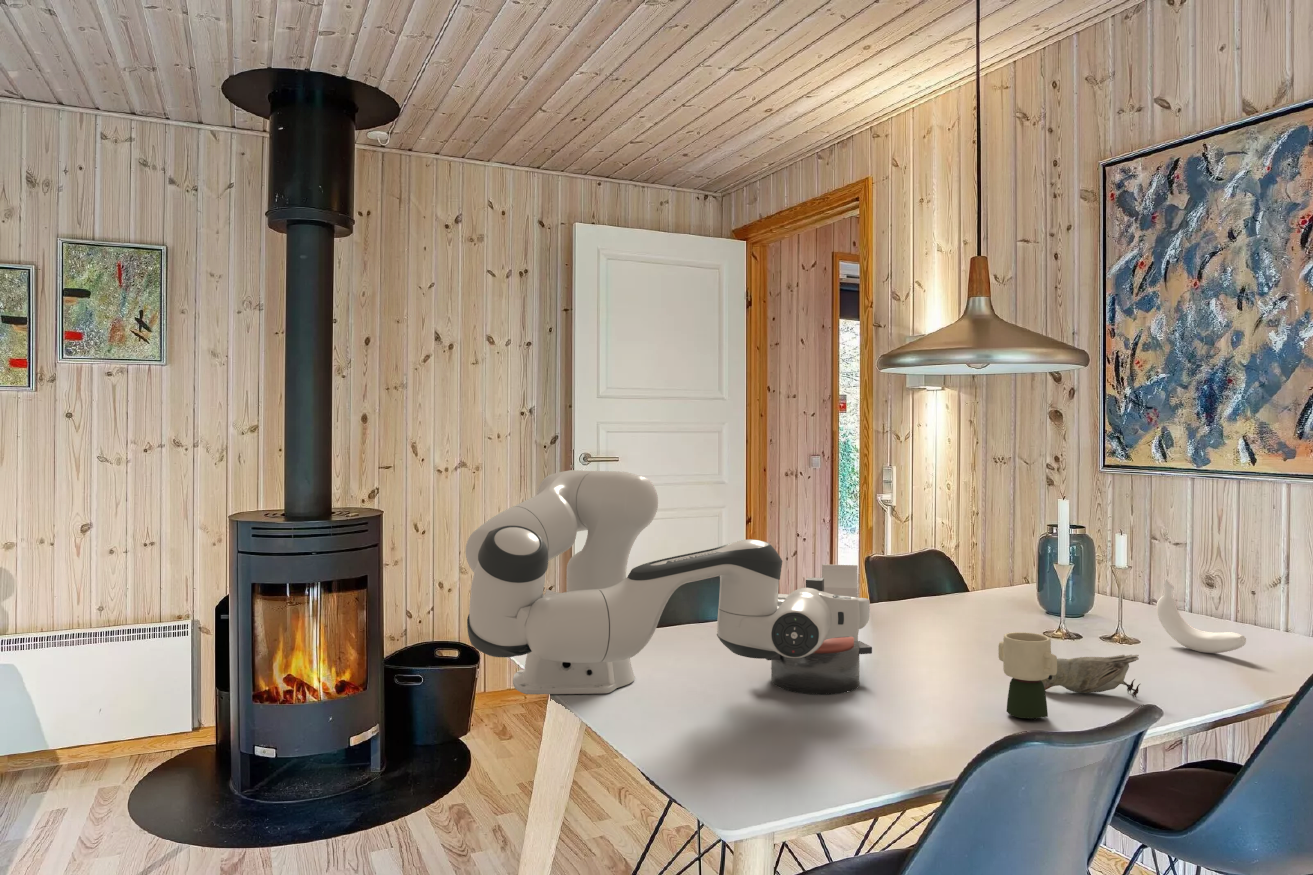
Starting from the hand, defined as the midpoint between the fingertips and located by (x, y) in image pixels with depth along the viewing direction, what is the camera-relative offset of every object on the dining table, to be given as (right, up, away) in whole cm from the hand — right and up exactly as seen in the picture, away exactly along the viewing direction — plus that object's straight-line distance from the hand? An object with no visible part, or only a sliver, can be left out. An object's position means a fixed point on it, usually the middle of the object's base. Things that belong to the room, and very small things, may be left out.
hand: (815, 600), depth 164 cm
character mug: (+30, -15, -21) cm, 40 cm away
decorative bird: (+47, -15, -8) cm, 50 cm away
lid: (0, -8, -1) cm, 8 cm away
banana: (+84, -15, +21) cm, 88 cm away
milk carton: (+8, -15, +17) cm, 24 cm away
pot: (0, -15, -1) cm, 15 cm away
